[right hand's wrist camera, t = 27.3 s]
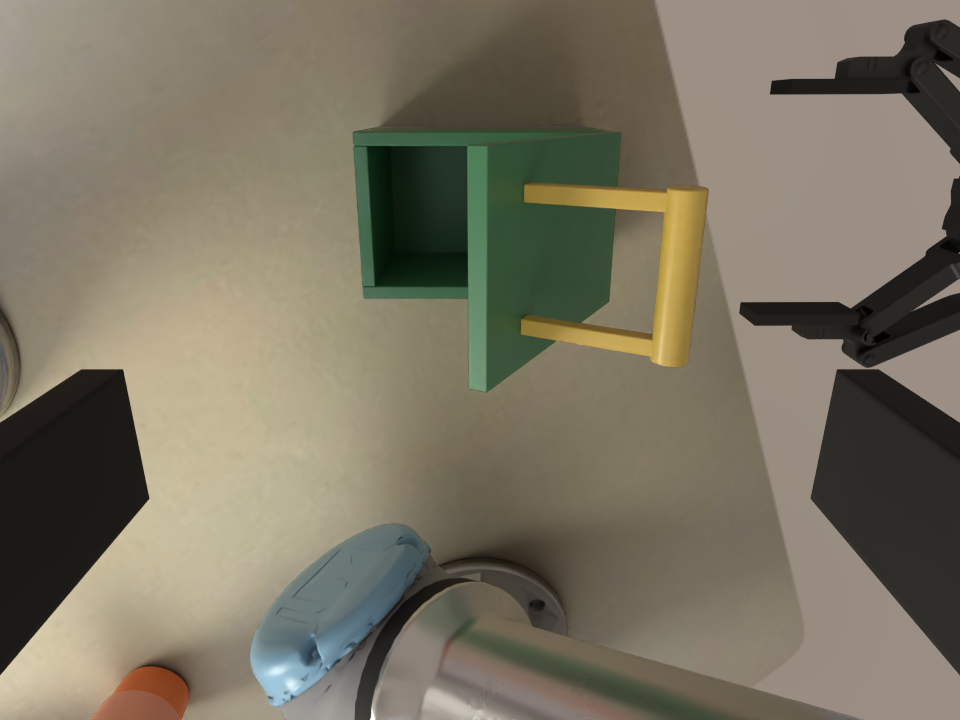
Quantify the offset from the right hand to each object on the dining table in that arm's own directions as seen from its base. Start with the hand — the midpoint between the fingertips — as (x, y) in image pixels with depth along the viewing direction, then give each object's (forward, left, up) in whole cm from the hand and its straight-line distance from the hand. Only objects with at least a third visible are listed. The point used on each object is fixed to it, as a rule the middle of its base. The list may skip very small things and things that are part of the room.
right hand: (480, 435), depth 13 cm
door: (+1, -3, -19) cm, 20 cm away
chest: (0, 0, -36) cm, 37 cm away
